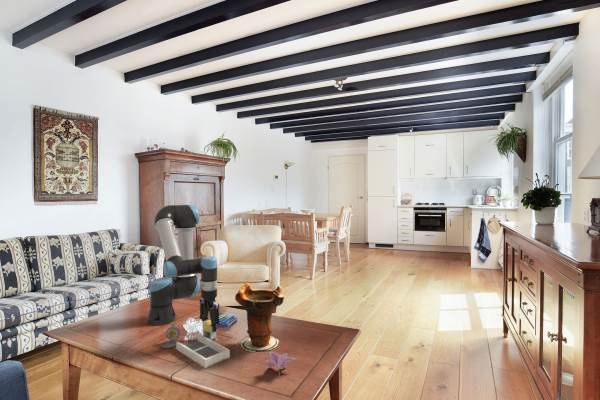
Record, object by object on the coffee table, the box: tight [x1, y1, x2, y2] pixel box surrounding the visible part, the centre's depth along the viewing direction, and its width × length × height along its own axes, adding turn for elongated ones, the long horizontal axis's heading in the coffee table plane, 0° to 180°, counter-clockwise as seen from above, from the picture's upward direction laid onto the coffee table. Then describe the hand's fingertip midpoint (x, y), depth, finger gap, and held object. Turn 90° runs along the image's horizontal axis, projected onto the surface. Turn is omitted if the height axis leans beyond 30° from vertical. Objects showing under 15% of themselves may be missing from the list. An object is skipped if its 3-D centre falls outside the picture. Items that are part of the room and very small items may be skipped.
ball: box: [202, 319, 214, 333], centre depth 163 cm, size 6×6×6 cm
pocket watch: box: [161, 322, 181, 349], centre depth 157 cm, size 8×8×10 cm
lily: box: [262, 351, 297, 379], centre depth 132 cm, size 12×12×10 cm
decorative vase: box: [234, 282, 285, 353], centre depth 159 cm, size 21×23×28 cm
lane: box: [175, 333, 231, 369], centre depth 149 cm, size 24×12×4 cm, turn 48°
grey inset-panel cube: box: [203, 331, 216, 341], centre depth 163 cm, size 4×4×4 cm
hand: (209, 336), depth 163 cm, fingers closed on ball, 6 cm apart
